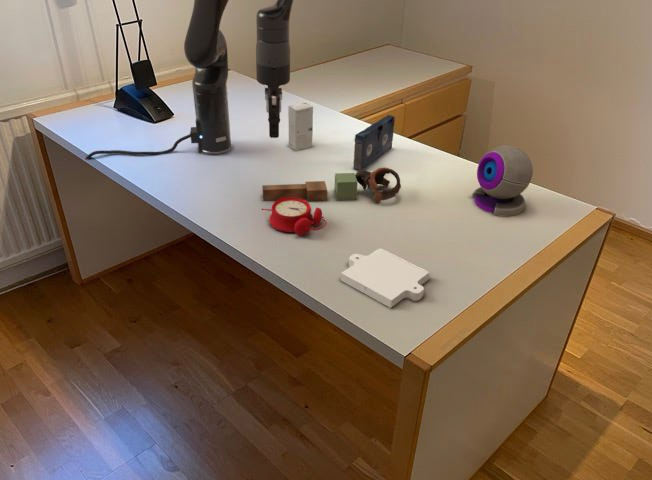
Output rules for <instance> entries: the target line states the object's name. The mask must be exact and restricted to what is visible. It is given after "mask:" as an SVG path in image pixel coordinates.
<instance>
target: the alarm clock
mask: <svg viewBox="0 0 652 480" xmlns="http://www.w3.org/2000/svg"><path fill="white" fill-rule="evenodd" d="M261 211H268V212H269V211H270V212H271V214H270V216H269V218H268V219H269V220H268V222H269V225H270V226H271V227H272V228H273V229H275V230H278V231H280V232H285V233H295V234H296V235H298V236H305V235H307V234H308V233H309V232H310V230H311V231H318V230H321V229H322V228H324V227H326V225H327V224H328V223H327V220H325V219H324V216H323V210H322V208H321V207H316V208H315V209H314V212H313V215H312V207H311V204H310V203H309V201H307V200H306V199H300V198H293V197H289V198H282V197H281V199H279V200H274V202H273V203H272V205H271V208H264V207H262V208H261ZM322 221H324V222H325V223H324V224H323V225H322V226H321V227H318V228H311V227H312V225H313V226H314V227H317V226H319V225H320V224H321V222H322Z"/></svg>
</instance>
